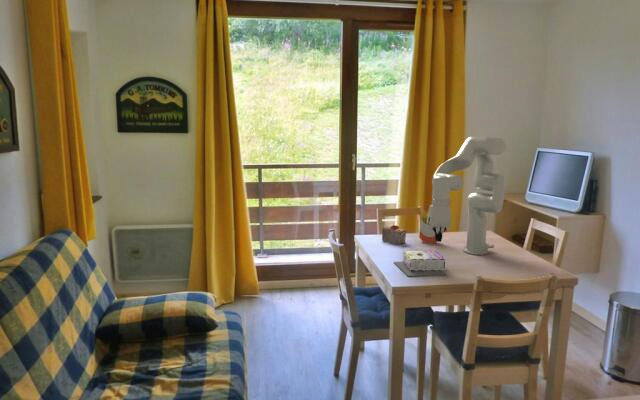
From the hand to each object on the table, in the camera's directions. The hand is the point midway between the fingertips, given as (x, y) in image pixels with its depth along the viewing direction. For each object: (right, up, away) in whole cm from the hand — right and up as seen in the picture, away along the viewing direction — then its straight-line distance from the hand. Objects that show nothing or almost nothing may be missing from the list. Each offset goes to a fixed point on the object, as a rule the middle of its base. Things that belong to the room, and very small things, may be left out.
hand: (438, 241), depth 225 cm
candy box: (+2, -9, +2) cm, 10 cm away
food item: (-14, -5, +46) cm, 49 cm away
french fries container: (+7, -5, +46) cm, 47 cm away
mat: (-9, -13, +1) cm, 16 cm away
